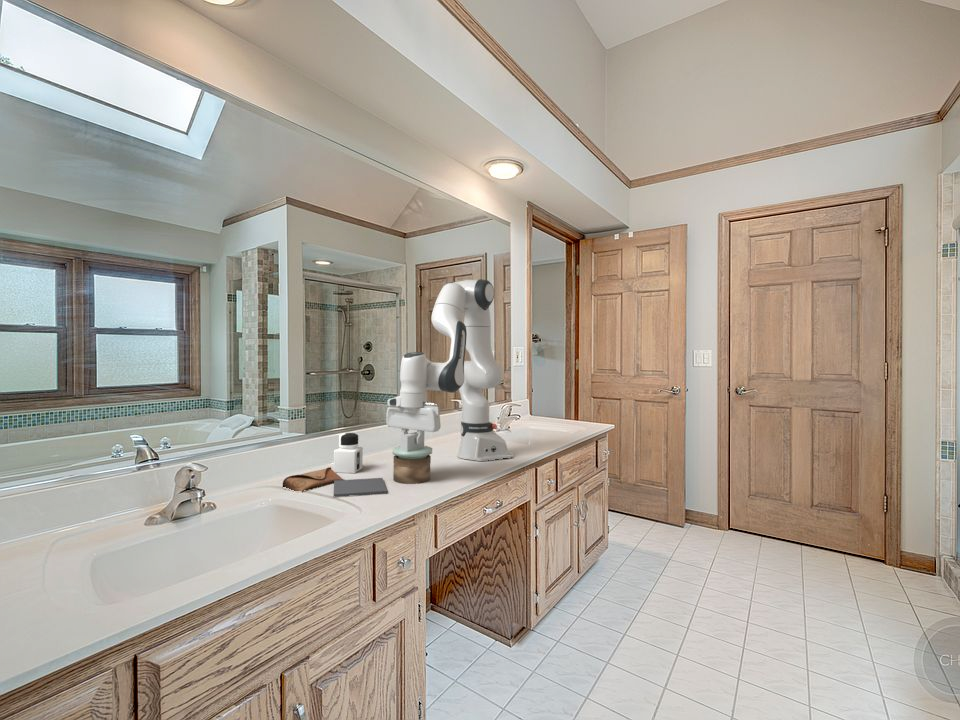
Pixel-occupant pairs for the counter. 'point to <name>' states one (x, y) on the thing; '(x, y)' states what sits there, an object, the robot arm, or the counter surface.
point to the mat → (359, 487)
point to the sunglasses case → (311, 480)
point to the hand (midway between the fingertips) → (412, 442)
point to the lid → (411, 448)
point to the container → (348, 454)
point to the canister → (411, 470)
